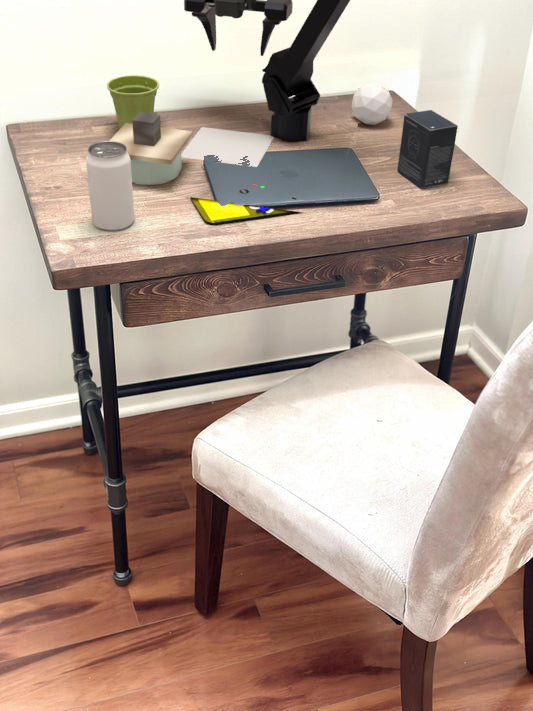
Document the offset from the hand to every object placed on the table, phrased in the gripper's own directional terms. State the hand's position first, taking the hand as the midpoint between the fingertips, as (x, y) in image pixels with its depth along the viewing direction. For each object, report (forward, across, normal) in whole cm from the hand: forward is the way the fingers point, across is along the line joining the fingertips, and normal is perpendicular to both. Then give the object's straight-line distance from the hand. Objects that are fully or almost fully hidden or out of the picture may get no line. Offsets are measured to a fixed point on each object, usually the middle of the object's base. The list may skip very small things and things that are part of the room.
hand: (237, 52), depth 160 cm
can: (+13, -8, -45) cm, 48 cm away
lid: (+8, -8, -28) cm, 30 cm away
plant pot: (+13, -17, -10) cm, 24 cm away
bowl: (+13, -8, -28) cm, 32 cm away
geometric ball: (+13, +25, +7) cm, 29 cm away
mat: (+13, +2, -14) cm, 19 cm away
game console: (+14, +11, -33) cm, 37 cm away
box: (+13, +37, -15) cm, 42 cm away
